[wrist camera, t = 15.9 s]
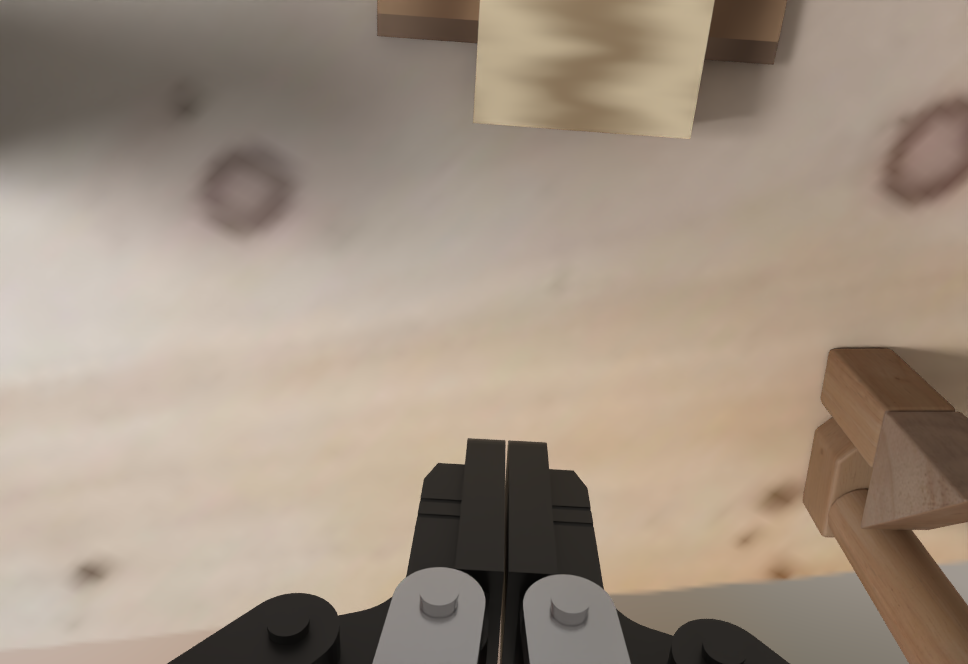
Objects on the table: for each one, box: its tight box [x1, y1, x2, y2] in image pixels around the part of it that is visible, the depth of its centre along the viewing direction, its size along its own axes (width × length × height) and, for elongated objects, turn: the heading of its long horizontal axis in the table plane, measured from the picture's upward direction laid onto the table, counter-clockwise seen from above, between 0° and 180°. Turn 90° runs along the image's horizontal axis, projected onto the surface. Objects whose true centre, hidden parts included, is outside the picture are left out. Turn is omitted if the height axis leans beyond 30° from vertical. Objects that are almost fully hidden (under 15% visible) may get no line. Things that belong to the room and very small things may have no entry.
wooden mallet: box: [803, 348, 968, 664], centre depth 36 cm, size 4×11×18 cm, turn 2°
